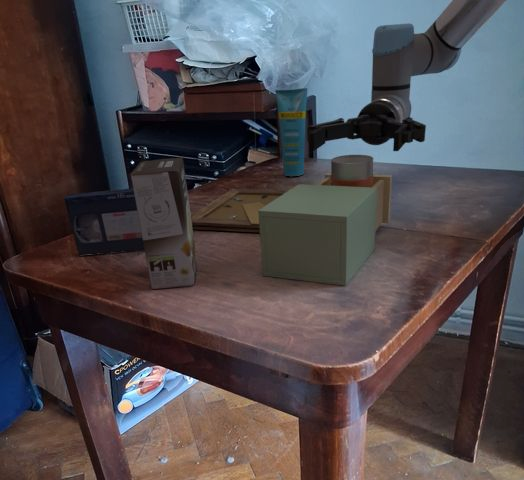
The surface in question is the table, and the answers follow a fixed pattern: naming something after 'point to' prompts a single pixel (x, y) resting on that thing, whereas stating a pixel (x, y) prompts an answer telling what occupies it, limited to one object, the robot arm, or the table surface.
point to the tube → (292, 128)
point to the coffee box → (165, 222)
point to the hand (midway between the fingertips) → (352, 142)
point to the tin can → (352, 171)
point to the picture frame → (235, 210)
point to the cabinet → (318, 233)
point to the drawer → (383, 196)
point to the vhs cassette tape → (104, 221)
